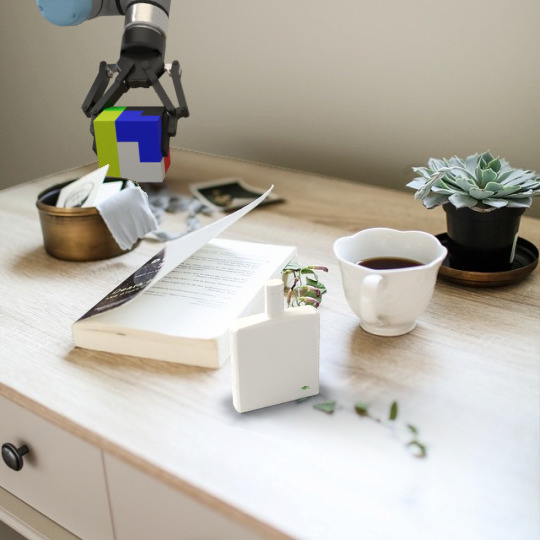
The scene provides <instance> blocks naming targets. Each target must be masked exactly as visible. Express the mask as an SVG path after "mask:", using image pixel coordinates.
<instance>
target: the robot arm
mask: <svg viewBox="0 0 540 540" xmlns="http://www.w3.org/2000/svg"><path fill="white" fill-rule="evenodd" d="M35 1H36V7H37V8H38V11H39V12H40V14H41V15H42V17H43V18H44V19H45V20H46V21H48V22H49V23H50V24H52V25H55V26H58V27H63V28H64V27H65V28H66V27H75V26H79V25H81V24H83V23H84V22H86V21H91V20H94V19H97V18H100V17H117V16H119V17H120V16H121V17H124V20H123V28H122V36H121V42H120V49H119V58H118V60H117V61H116V63H107V61H105V60H102V61H100V62H99V65H98V73H97V75H96V77H95V79H94V81H93V83H92V84H91V87H90V89H89V91H88V93H87V94H86V96H85V98H84V100H83V102H82V104H81V107H80V108H81V110H82V112H83V114H84V115H85V117H86V118H87V119H90V124H89V132H90V134H91V136H92V137H93V140H92V147H91V148H92V151H93V153H94V154H95V156H96V157H97V158H98V156H97V147H96V139H95V131H94V123H93V121H94V120H95V119H96V118H97V117H98V116H99V115H100V114H101V113H102V112H103V111H104V110H105V109H106V108H109V107H112V106H115V105H116V104H117V102H118V101H119V100H120V99H121V98H122V96H123V95H124V94H127V93H128V92H129V90H130V89H139V88H142V89H150V87H152V88H153V91H154V93H156V95H157V97H158V98H159V100H160V103H161V104H162V106H164V107H165V108H166V110H167V113H164V114H163V124H162V133H161V152H162V155H163V157H168V153H169V146H170V143H171V142H170V141H171V138H176V136H177V132H178V131H177V130H178V121H179V120H180V119H182V118H184V119H187V118H189V117H190V116H191V115H190V110H189V105H188V103H187V98H186V95H185V92H184V91H185V90H184V87H183V84H182V80H181V79H182V73H183V70H182V67H181V64H180V61H179V60H177V59H175V60H173V61H171V63H167V62H165V58H166V49H167V39H168V30H169V24H170V23H169V22H170V11H171V3H172V0H35ZM115 73H117V75H116V77H115V78H114V74H115ZM166 73H167V74H168V76H169V77H170V78H171V80H172V84H173V88H174V92H175V95H176V100H177V103H178V106H177V107H176V106H175V105H174V104H173V102H172V100H171V99H170V97H169V95H168V94H167V92H166V90H165V89H164V86H163V85H162V84H161V82H160V78H162V77H163V76H164V74H166ZM113 78H114V82H112V84H111V85H110V86H109V84H110V81H111V79H113ZM108 86H109V88H108Z"/></svg>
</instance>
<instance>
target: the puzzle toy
mask: <svg viewBox="0 0 540 540" xmlns="http://www.w3.org/2000/svg"><path fill="white" fill-rule="evenodd" d="M164 113H168V112H167V110H166V108H165V107H164V105H155V106H154V105H152V106H151V105H146V106H145V105H144V106H143V105H141V106H140V105H138V106H137V105H136V106H135V105H134V106H131V105H130V106H129V105H127V106H125V105H122V106H121V105H118V106H117V105H116V106H115V105H114V106H112V107H109V108H106V109H105V110H104V111H103V112H102V113H101V114H100V115H99V116H98V117H97V118H96V119H95V120H94V121H93V123H94V131H95V139H96V147H97V155H96V157H97V156H98V157H97V164H98V169H99V168H101V167H103V166H105V165H107V164H109V165H110V166H109V170H108V172H107V176H113V177H122V178H128V179H132V180H134V181H136V182H135V183H163V181H164V179H165V177H166V175H167V172H168V170H169V168H170V166H171V164H172V163H171V161H172V160H171V147H170V146H171V145H169V153H168V157H163V155H162V152H161V133H162V124H163V114H164Z"/></svg>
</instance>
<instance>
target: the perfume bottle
mask: <svg viewBox="0 0 540 540" xmlns="http://www.w3.org/2000/svg"><path fill="white" fill-rule="evenodd" d="M263 286H264V287H263V289H264V290H263V291H264V312H262V313H261V312H260V313H256V314H252V315H248V316H245V317H240V318H236V319H232V320H230V321H229V323H228V338H229V353H230V370H231V388H232V389H231V390H232V404H233V405H232V406H233V407H234V409H235V411H237V412H238V413H240V414H243V413H247V412H250V411H251V412H252V411H255V410H259V409H260V410H261V409H263V408H268V407H271V406H276V405H279V404H285V403H289V402H293V401H296V400H301V399H304V398H309V397H313V396H316V395H319V393H320V347H321V346H320V343H321V341H320V338H321V314H320V312H319V310H318V309H317V308H316V307H315V306H313V305H311V304H305V305H299V306H294V307H288V308H285V282H284V280H282V279H281V278H272V279H271V278H270V279H267V280H265V281H264V283H263ZM304 386H309V387H310V389H306V390H302V391H299V390H300V389H301V388H302V387H304Z"/></svg>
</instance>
